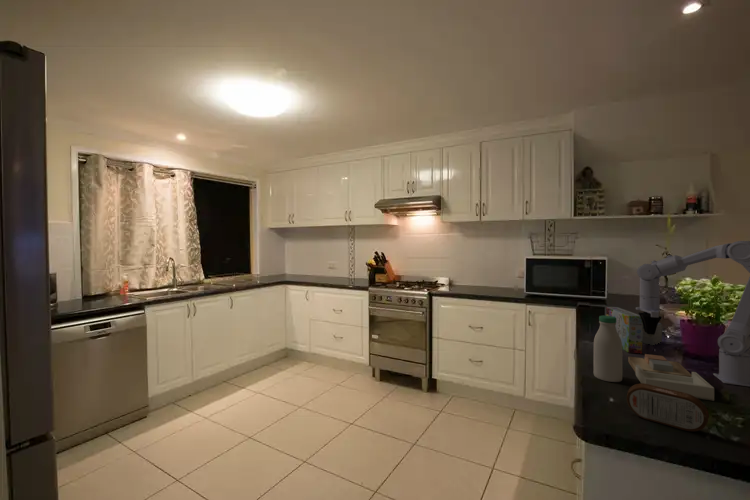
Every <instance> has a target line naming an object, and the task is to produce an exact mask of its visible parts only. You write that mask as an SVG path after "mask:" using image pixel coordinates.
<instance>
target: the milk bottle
mask: <svg viewBox="0 0 750 500" xmlns="http://www.w3.org/2000/svg"><path fill="white" fill-rule="evenodd" d="M598 320H599V321H598V323H599V328H598V330H597V331H596V333H595V336H594V339H593V376H594V377H595V378H596V379H598V380H601V381H605V382H609V383H611V382H612V383H620V382H622V381H623V349H622V342H621V339H620V337H619V335H618V333H617V330H616V326H615V325H616V317H613V316H606V315H599V317H598Z"/></svg>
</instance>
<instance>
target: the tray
mask: <svg viewBox="0 0 750 500" xmlns="http://www.w3.org/2000/svg"><path fill="white" fill-rule="evenodd" d="M691 375H692V377H687V376H679V375H672V374H664V373H656V372H649V371H643V369H642V368H641V367H640V365H636V373H635V377H636V378H637V380H638V381H639V382H640V383H639V384H649V385H653V386H658V387H662V388H666V389H671V390H675V391H679V392H684V393H687V394H690V395H693V396H695V397H696V398H698V399H699V400H704V401H705V400H707V401H713V402H714V401H715V387H714V386H713V385H711V384H710V383H709V382H708V381H706V380H705V379H704V378H703V377H702V376H701V375H700V374H699V373H697V372H696V371H691Z"/></svg>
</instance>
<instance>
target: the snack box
mask: <svg viewBox="0 0 750 500" xmlns="http://www.w3.org/2000/svg"><path fill="white" fill-rule="evenodd" d="M605 316H613V317H616V325H615V326H616V330H617V333H618V335H619V337H620V339H621V342H622V351H625V352H626V353H628V354H639V353H640V354H639V355H642V354H643V343H642V338H643V323H642V320H641V317H640V315H639V314H638V313H635V312H632V311H630V310H628V309H624V308H621V307H618V306H606V307H605Z"/></svg>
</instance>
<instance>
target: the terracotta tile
mask: <svg viewBox="0 0 750 500" xmlns="http://www.w3.org/2000/svg"><path fill="white" fill-rule="evenodd" d="M644 358H645V360H646V362H647V363H648V364H649V359H653V360H661V361H668V360H667V359H666V358H665V357H664V356H663V355H657V354H647V353H644Z"/></svg>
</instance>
